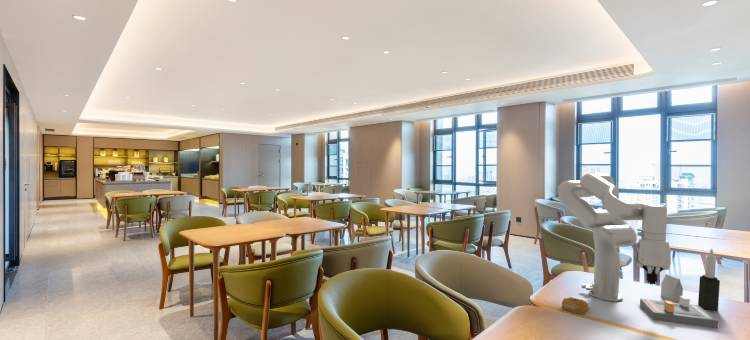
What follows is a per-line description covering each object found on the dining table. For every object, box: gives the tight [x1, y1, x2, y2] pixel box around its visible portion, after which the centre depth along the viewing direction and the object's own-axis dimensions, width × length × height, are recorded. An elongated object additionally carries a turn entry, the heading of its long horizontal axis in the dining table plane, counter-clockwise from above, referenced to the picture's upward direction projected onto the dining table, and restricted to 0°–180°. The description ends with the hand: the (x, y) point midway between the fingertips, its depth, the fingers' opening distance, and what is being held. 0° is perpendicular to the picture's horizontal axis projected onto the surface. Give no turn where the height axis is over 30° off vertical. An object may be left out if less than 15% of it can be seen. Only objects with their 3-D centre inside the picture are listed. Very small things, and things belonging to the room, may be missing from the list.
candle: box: [697, 248, 721, 313], centre depth 151 cm, size 5×5×25 cm
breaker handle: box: [664, 300, 674, 313], centre depth 141 cm, size 2×3×3 cm, turn 162°
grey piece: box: [660, 273, 684, 303], centre depth 161 cm, size 4×7×10 cm, turn 4°
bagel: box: [561, 296, 590, 315], centre depth 149 cm, size 10×11×5 cm
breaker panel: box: [639, 295, 719, 330], centre depth 144 cm, size 20×14×7 cm
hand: (651, 283), depth 143 cm, fingers closed
